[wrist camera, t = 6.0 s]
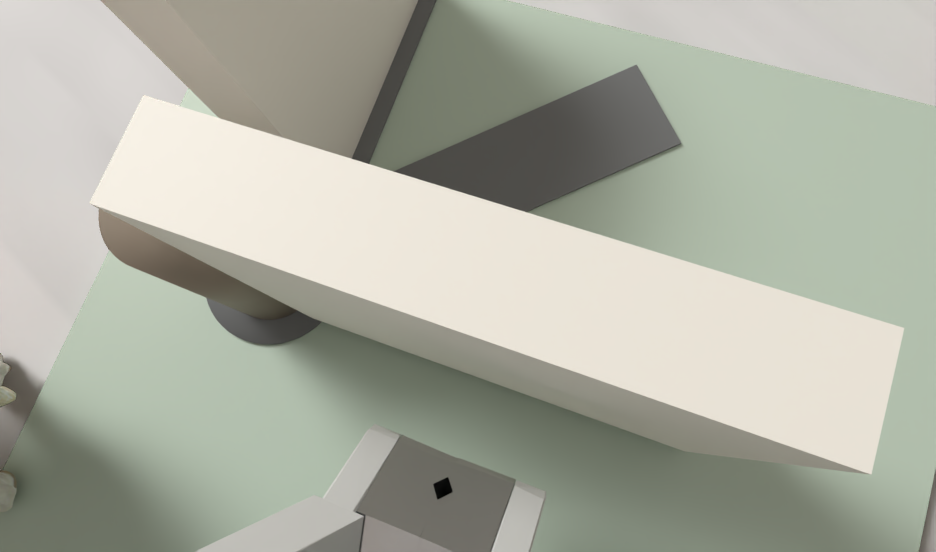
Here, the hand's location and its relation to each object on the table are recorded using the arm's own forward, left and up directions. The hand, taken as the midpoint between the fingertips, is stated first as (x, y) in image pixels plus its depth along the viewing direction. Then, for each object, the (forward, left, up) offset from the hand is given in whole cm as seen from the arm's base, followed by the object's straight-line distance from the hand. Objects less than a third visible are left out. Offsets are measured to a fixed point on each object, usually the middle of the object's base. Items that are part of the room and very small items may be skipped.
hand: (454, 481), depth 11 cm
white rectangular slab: (+3, 0, -4) cm, 5 cm away
